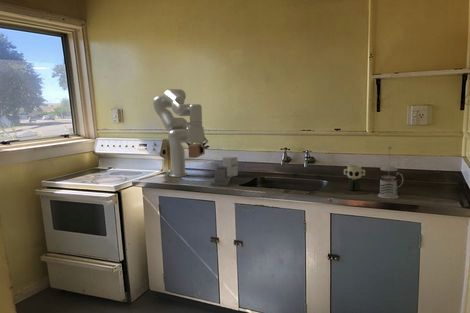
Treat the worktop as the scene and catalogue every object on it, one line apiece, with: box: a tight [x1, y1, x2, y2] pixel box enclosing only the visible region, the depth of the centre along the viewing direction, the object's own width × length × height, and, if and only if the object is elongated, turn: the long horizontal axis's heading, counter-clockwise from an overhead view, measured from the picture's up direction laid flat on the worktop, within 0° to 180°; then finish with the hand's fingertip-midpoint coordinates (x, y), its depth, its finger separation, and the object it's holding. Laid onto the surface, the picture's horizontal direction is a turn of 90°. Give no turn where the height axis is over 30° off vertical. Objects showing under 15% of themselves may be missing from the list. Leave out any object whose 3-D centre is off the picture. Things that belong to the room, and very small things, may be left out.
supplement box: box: [222, 156, 239, 178], centre depth 253 cm, size 7×7×13 cm
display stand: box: [210, 165, 232, 186], centre depth 235 cm, size 10×22×8 cm, turn 176°
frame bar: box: [187, 142, 206, 159], centre depth 238 cm, size 5×18×7 cm, turn 169°
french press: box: [377, 145, 404, 199], centre depth 186 cm, size 10×12×25 cm
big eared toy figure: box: [343, 164, 366, 191], centre depth 203 cm, size 11×7×13 cm, turn 69°
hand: (196, 153), depth 238 cm, fingers closed on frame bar, 5 cm apart
